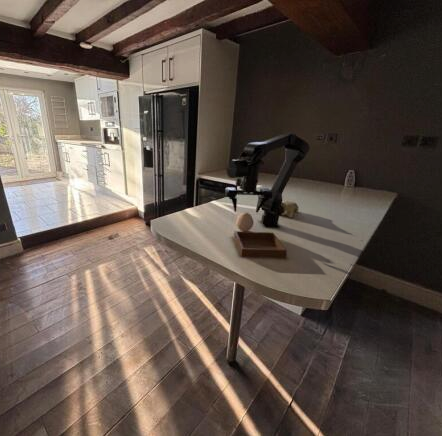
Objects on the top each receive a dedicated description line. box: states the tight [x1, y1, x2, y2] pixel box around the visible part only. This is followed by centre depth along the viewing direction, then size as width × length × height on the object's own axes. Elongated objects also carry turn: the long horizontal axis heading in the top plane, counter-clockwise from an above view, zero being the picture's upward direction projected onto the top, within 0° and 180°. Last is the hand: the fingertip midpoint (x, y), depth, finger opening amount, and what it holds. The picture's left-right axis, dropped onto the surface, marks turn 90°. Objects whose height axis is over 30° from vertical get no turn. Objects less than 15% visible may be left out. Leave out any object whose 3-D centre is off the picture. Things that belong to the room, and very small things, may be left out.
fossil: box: [281, 200, 299, 219], centre depth 124 cm, size 15×10×10 cm
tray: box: [233, 230, 288, 259], centre depth 88 cm, size 16×15×3 cm
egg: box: [235, 212, 254, 232], centre depth 101 cm, size 7×7×8 cm
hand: (245, 212), depth 99 cm, fingers open, 9 cm apart
